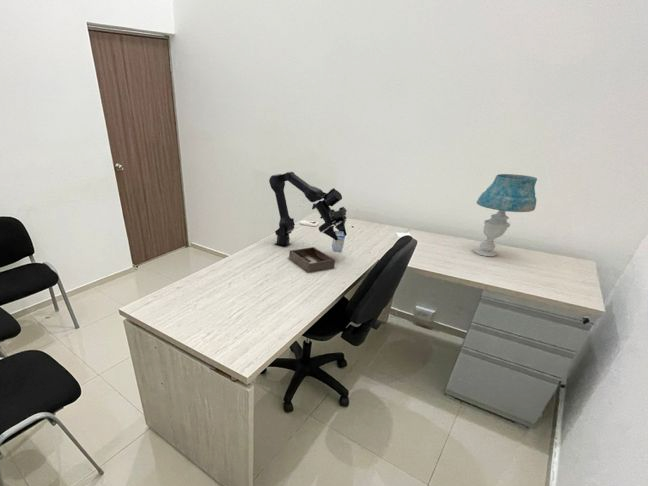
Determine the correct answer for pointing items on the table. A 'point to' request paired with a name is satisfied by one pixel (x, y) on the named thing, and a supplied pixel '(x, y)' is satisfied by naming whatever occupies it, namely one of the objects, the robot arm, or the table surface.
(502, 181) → the table lamp
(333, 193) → the robot arm
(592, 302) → the table surface
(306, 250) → the crate
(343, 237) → the medicine box
